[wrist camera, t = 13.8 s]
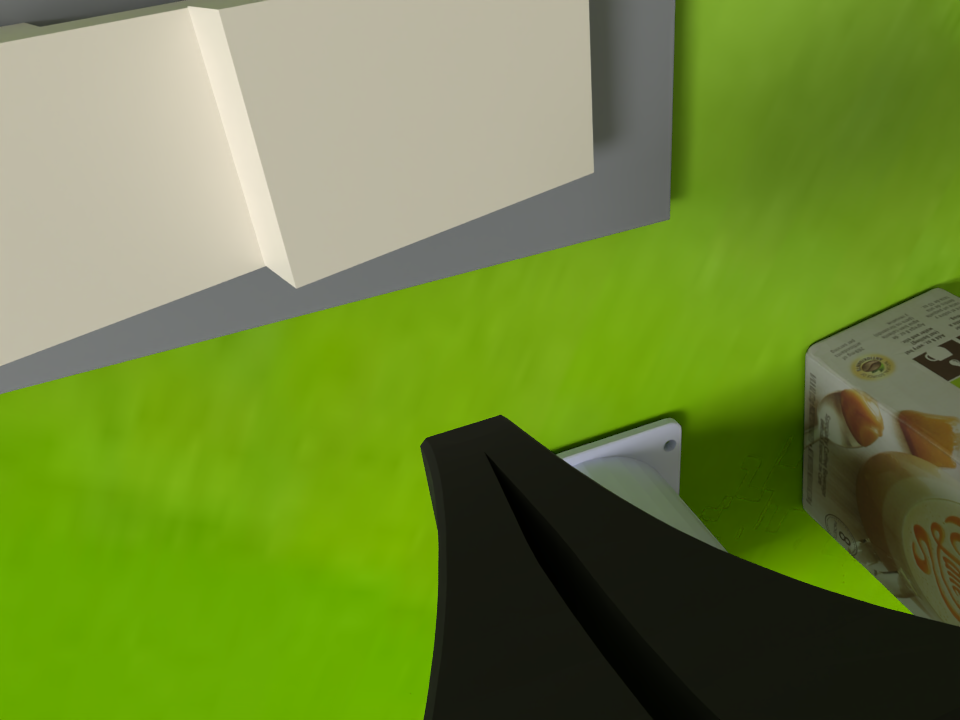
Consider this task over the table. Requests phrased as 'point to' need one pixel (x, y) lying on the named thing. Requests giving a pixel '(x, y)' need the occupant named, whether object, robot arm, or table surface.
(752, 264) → the table surface
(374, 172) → the domino
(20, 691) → the table surface
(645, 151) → the slate board
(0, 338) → the domino
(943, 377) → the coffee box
